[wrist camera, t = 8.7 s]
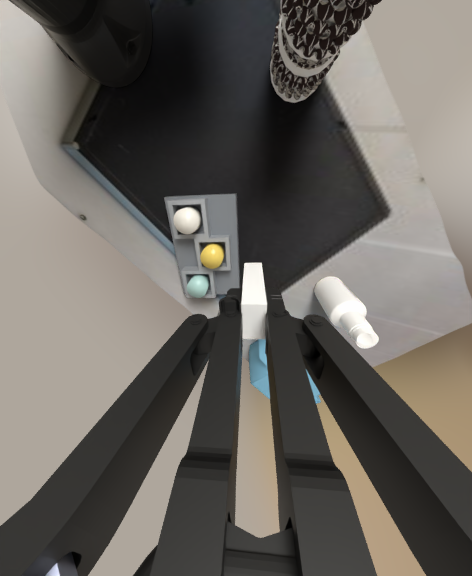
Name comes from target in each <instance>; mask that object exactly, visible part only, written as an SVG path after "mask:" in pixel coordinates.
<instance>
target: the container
mask: <svg viewBox="0 0 472 576" xmlns="http://www.w3.org/2000/svg"><path fill="white" fill-rule="evenodd" d="M265 345H266V336H265V339H258V340H257V341H256V342H254V343H253V344H251V345H250V349H249V367H250V380H251V384H252V385H253V386H255V387H256V388H257V389H258V390H259V391H260V392H262V393H263V394H264V395H265V396H267V397H268V398H269V399H270V392H269V380H268V369H267V357H266V354H265ZM306 371H307V370H306ZM307 375H308V378H309V382H310V385H311V388H312V392H313V395H314V399H315V402H316V404H317V403H320V402H321V401H320V399H319V396H318V395H320V392H319V391H318V389H317V387H316V385H315V384H314V382H313V380H312V379H311V377H310V375H309V373H308V372H307Z"/></svg>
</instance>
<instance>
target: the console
mask: <svg viewBox="0 0 472 576" xmlns="http://www.w3.org/2000/svg"><path fill="white" fill-rule="evenodd" d="M164 199H165V204H166V209H167V214H168V219H169V224H170V228H171V233H172V238H173V243H174V248H175V253H176V257H177V262H178V267H179V272H180V277H181V281H182V286H183V291H184V294H186V297H187V298H195V297H193V296H191V295H190V294H189V293H188V291H187V284H188V283H189V281H190V280H191V278H192V277H193V275H194V274H206V275H207V276H208V277H209V279H210V285H209V287H208V290H207V292H206V294H205V295H204V296H203V297H201V298H216V295H217V294H227V291H228V290H229V289H230V288H240V268H239V239H238V210H237V193H235V194H212V195H189V196H169V197H164ZM186 207H195V208H197V209H198V210H199V211H200V213H201V215H202V218H203V221H202V224H201V226H200V227H199V228H198V229H197V230H196V231H194V232H193V233H191V234H183V233H181V232H179V231H178V230H177V229H176V227H175V225H174V220H173V219H174V215H175V213H176V212H177V211H178V210H180V209H183V208H186ZM211 242H217V243H220V244H221V245H222V246H223V247H224V250H225V255H224V258H223V261H222V263H221V265H220V266H219V267H217V268H214V269H210V268H207V267H205V266H204V265H203V264H202V262H201V259H200V255H201V253H202V251H203V250H204V248H205V247H206V246H207V244H209V243H211Z"/></svg>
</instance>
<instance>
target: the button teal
mask: <svg viewBox="0 0 472 576" xmlns="http://www.w3.org/2000/svg"><path fill="white" fill-rule="evenodd" d="M209 285H210V279H209V277H208V276H207V275H206V274H194V275H193V277H192V278H191V280H190V281H189V283H188V284H187V291H188V293H189V294H190V295H191V296H193V297H195V298H201V297H203V296H204V295H205V294H206V292H207V290H208V287H209Z"/></svg>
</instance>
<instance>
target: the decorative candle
mask: <svg viewBox="0 0 472 576" xmlns="http://www.w3.org/2000/svg"><path fill="white" fill-rule="evenodd" d="M381 1H382V0H281V10H280V14H279V17H280V19H279V21H278V22H277V24H276V28H275V36H274V42H273V46H272V53H271V64H270V73H271V82H272V85H273V87H274V89H275V91H276V94H277V95H279V96H280V97H281V98H282V99H283V100H284V101H288V102H292V103H296V102H299V101H302V100H305V99H306V98H307V97H308V96H309V95H311V94H312V93H313V92H314V91H315V89H317V88H318V85H319V84H320V83H321V82H322V79H323V78H324V77H325V75H326V74H327V73H328V71H329V70H330V68H331V66H332V65H333V63H334V61H335V60H336V59H337V58H338V56H339V53H340V48H341V47H342V46H344V45H345V44H346V43H347V42H348V41H349V39H350V38H351V36H352V35H354V34H355V33H356V32H357V31H358V30H359V29H360V27H361V22H362V20H365V19H367V18H368V17H369V16H370V14H371V12H372V10H373V7H374V5H376V4H378V3H379V2H381Z"/></svg>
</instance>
